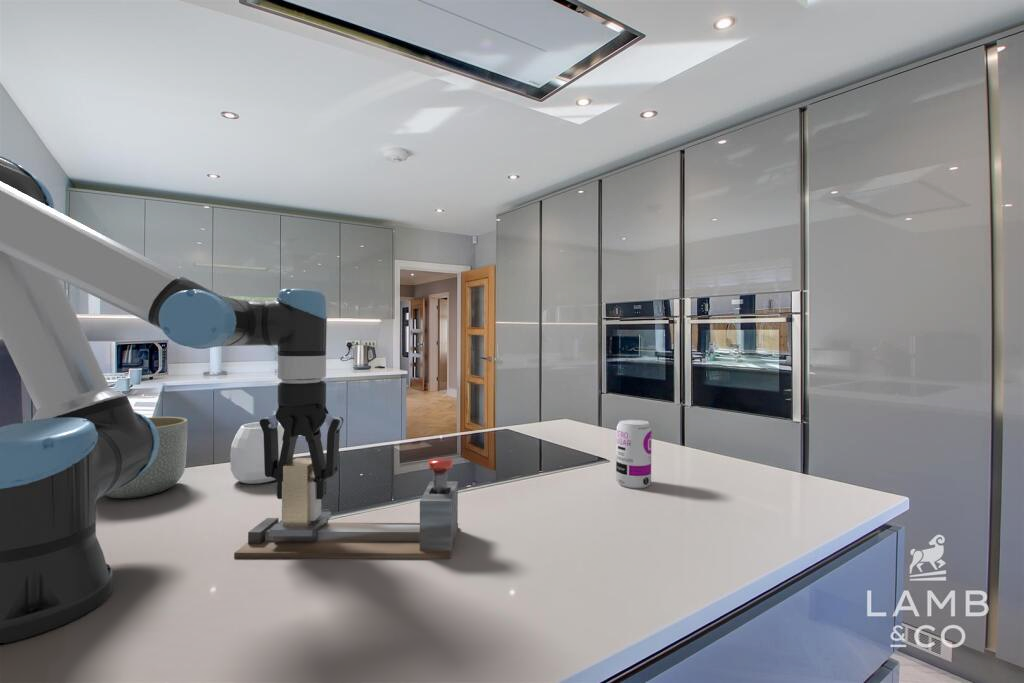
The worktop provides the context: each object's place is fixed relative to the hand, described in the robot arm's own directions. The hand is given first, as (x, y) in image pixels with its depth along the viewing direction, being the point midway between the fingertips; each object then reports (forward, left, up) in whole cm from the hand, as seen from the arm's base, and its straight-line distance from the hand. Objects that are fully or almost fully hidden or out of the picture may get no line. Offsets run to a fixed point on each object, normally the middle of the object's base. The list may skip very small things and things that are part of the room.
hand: (301, 517), depth 79 cm
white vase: (+34, +25, -4) cm, 42 cm away
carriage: (0, 0, -3) cm, 3 cm away
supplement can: (+32, -66, -4) cm, 73 cm away
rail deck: (0, -9, -4) cm, 10 cm away
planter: (+25, +47, -4) cm, 53 cm away
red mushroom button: (0, -24, +3) cm, 24 cm away
